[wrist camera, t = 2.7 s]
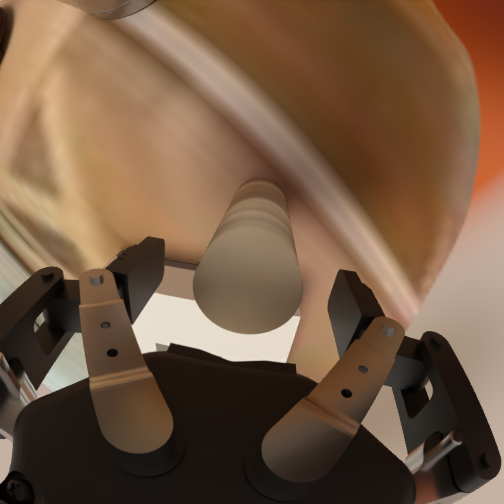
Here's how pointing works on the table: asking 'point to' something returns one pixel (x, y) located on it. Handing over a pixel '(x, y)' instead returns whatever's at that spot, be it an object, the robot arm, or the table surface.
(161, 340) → the socket block
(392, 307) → the table surface
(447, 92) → the table surface
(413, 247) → the table surface
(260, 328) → the peg
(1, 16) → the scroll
